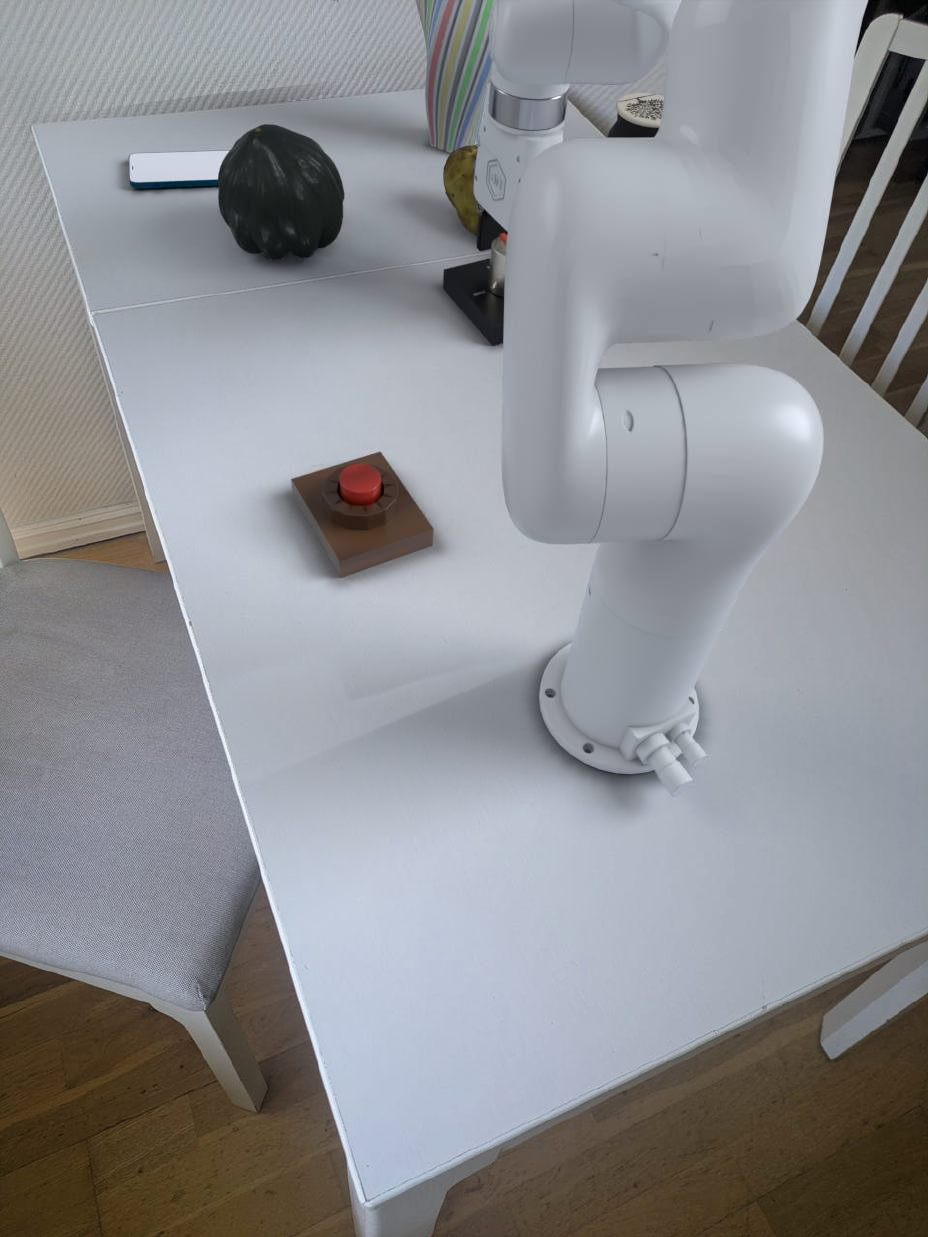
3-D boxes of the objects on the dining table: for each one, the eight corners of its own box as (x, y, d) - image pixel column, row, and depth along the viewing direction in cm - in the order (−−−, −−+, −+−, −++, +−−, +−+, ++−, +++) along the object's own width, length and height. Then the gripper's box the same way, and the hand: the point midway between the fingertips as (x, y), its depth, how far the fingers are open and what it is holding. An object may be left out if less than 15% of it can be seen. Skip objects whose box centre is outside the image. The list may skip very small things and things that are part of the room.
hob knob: (533, 292, 102) (539, 248, 98) (499, 301, 101) (504, 257, 97) (513, 272, 105) (519, 228, 100) (480, 280, 103) (484, 236, 99)
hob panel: (568, 324, 103) (572, 304, 101) (492, 346, 100) (494, 325, 98) (515, 270, 109) (518, 249, 107) (442, 288, 106) (443, 267, 104)
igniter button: (387, 499, 80) (387, 484, 78) (350, 511, 78) (349, 497, 77) (370, 473, 81) (370, 458, 80) (333, 485, 80) (332, 470, 79)
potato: (460, 253, 111) (464, 189, 104) (435, 200, 118) (438, 137, 112) (524, 248, 113) (532, 184, 106) (496, 195, 120) (502, 133, 114)
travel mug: (661, 272, 111) (700, 119, 97) (604, 282, 109) (635, 127, 95) (631, 238, 115) (664, 87, 101) (575, 247, 113) (601, 94, 99)
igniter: (432, 545, 81) (434, 514, 78) (340, 578, 78) (338, 547, 75) (380, 468, 87) (380, 436, 84) (292, 495, 84) (289, 464, 81)
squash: (345, 158, 112) (256, 68, 101) (383, 224, 105) (291, 136, 93) (268, 239, 117) (174, 163, 105) (299, 309, 109) (202, 235, 98)
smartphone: (253, 155, 122) (129, 159, 119) (252, 148, 122) (128, 152, 118) (258, 185, 118) (130, 190, 115) (258, 178, 117) (128, 183, 114)
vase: (519, 141, 130) (547, -122, 106) (469, 177, 122) (487, -96, 99) (440, 113, 134) (450, -147, 110) (387, 147, 126) (386, -123, 102)
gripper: (451, 71, 90) (443, 235, 104) (541, 150, 81) (519, 318, 95) (515, 61, 93) (499, 223, 107) (610, 136, 84) (579, 302, 98)
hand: (509, 267), depth 101 cm, fingers open, 8 cm apart
